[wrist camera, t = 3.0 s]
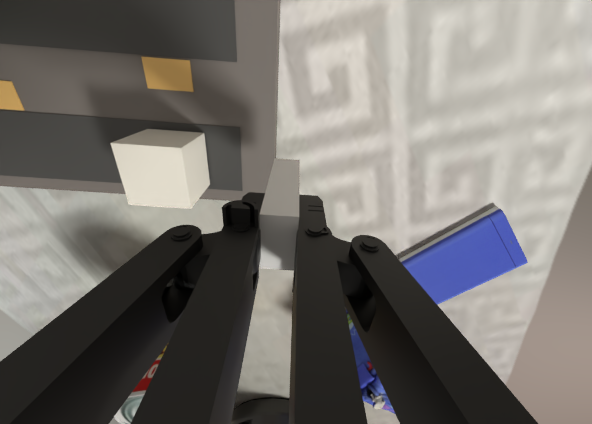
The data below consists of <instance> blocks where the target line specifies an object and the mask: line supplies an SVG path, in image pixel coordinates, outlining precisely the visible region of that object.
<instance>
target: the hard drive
mask: <svg viewBox="0 0 592 424" xmlns="http://www.w3.org/2000/svg"><path fill="white" fill-rule="evenodd" d="M399 261H400V262H401V263H402V264H403V265H404V267H405V268H406V269H407V270H408V271H409V272H410V274H411V275H412V276H413V277H414V278H415V279H416V281H417V282H418V283H419V284H420V285H421V287H422V288H423V289H424V290H425V291H426V292H427V294H428V295H429V296H430V297H431V298H432V299H433V301H434V302H435V303H436V304H440V303H442V302H444V301H446V300H448V299H450V298H452V297H454V296H457V295H459V294H461V293H463V292H465V291H467V290H470V289H472V288H474V287H476V286H478V285H481V284H483V283H485V282H487V281H489V280H491V279H494V278H496V277H498V276H500V275H502V274H504V273H506V272H508V271H511V270H513V269H515V268H517V267H519V266H521V265H524V264H526V263H527V259H526V257H525V255H524V253H523V251H522V249H521V247H520V245H519V243H518V241H517V239H516V237H515V235H514V233H513V231H512V228H511V226H510V224H509V222H508V220H507V218H506V216H505V214H504V213H503V211H502V210H501V209H499V208H498V207H497V206H495V207H493V208H492V209H490V210H488V211H486V212H484V213H482V214H480V215H479V216H477V217H475V218H473V219H471V220H469V221H468V222H466V223H464V224H462V225H460V226H458V227H457V228H455V229H453V230H451V231H449V232H447V233H446V234H444V235H442V236H440V237H438V238H436V239H435V240H433V241H431V242H429V243H427V244H425V245H424V246H422V247H420V248H418V249H416V250H414V251H413V252H411V253H409V254H407V255H405V256H403V257H402V258H400V259H399Z"/></svg>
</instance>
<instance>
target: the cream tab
mask: <svg viewBox="0 0 592 424" xmlns="http://www.w3.org/2000/svg"><path fill="white" fill-rule="evenodd" d="M110 144H111V147H112V150H113V153H114V157H115V160H116V163H117V167H118V170H119V173H120V177H121V180H122V183H123V187H124V190H125V193H126V196H127V200H128V203H129V205H139V206H155V207H171V208H187V209H191V208H192V207H193V206H194V204H195V203H196V202H197V201H198V199H199V198H200V197H201V195H202V194H203V193H204V192H205V190H206V189H207V188H208V186H209V185H210V179H209V171H208V162H207V153H206V144H205V135H204V133H200V132H185V131H171V130H157V129H146V130H143V131H140V132H138V133H135V134H133V135H130V136H127V137H125V138H122V139H120V140H117V141H114V142H112V143H110Z"/></svg>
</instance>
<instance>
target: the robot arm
mask: <svg viewBox="0 0 592 424" xmlns="http://www.w3.org/2000/svg"><path fill="white" fill-rule="evenodd" d="M222 213H223V223H224V226H223V229H222V231H219V232H215V233H209V234H201V230H200V229H199V228H198V227H196V226H193V225H180V226H176V227H173V228H171V229H169V230H167V231H166V232H165V233H163V234H162V235H161V236H159V237H158V238H157V239H156V240H154V241H153V242H152V243H151V244H149V245H148V246H147V247H145V248H144V249H143V250H142V251H140V252H139V253H138V254H137V255H135V256H134V257H133V258H132V259H130V260H129V261H128V262H126V263H125V264H124V265H123V266H121V267H120V268H119V269H118V270H116V271H115V272H114V273H112V274H111V275H110V276H109V277H107V278H106V279H105V280H104V281H102V282H101V283H100V284H98V285H97V286H96V287H95V288H93V289H92V290H91V291H90V292H88V293H87V294H86V295H85V296H83V297H82V298H81V299H79V300H78V301H77V302H76V303H74V304H73V305H72V306H71V307H69V308H68V309H67V310H65V311H64V312H63V313H62V314H60V315H59V316H58V317H57V318H55V319H54V320H53V321H51V322H50V323H49V324H48V325H46V326H45V327H44V328H43V329H41V330H40V331H39V332H38V333H36V334H35V335H34V336H32V337H31V338H30V339H29V340H27V341H26V342H25V343H24V344H22V345H21V346H20V347H18V348H17V349H16V350H15V351H13V352H12V353H11V354H10V355H8V356H7V357H6V358H4V359H3V360H2V361H1V362H0V424H109V423H110V421H111V420H112V418H113V417H114V416H115V415H116V413H117V412H118V410H119V409H120V408H121V406H122V405H123V404H124V402H125V401H126V400H127V398H128V397H129V396H130V394H131V393H132V391H133V390H134V389H135V387H136V386H137V385H138V383H139V382H140V381H141V379H142V378H143V377H144V375H145V374H146V373H147V371H148V370H149V368H150V367H151V366H152V364H153V363H154V362H155V360H156V359H157V358H158V356H159V355H160V354H161V352H162V351H163V349H164V348H165V347H166V345H167V344H168V345H167V347H166V350H165V352H164V354H163V356H162V358H161V360H160V362H159V364H158V367H157V369H156V371H155V373H154V375H153V377H152V379H151V381H150V384H149V386H148V388H147V390H146V392H145V394H144V396H143V398H142V401H141V403H140V405H139V407H138V409H137V411H136V413H135V415H134V417H133V420H132V422H131V424H367V419H366V413H365V408H364V403H363V397H362V392H361V387H360V381H359V376H358V371H357V365H356V360H355V355H354V350H353V344H352V339H351V334H350V328H349V323H348V318H347V312H346V309H347V311H348V314H349V316H350V318H351V320H352V322H353V324H354V326H355V329H356V331H357V333H358V335H359V337H360V339H361V341H362V343H363V346H364V348H365V350H366V352H367V354H368V356H369V358H370V360H371V363H372V365H373V367H374V369H375V371H376V373H377V375H378V377H379V380H380V382H381V384H382V386H383V388H384V390H385V392H386V395H387V397H388V399H389V401H390V403H391V405H392V407H393V409H394V412H395V414H396V416H397V418H398V420H399V422H400V424H538V423H537V422H536V421H535V419H534V418H533V417H532V416H531V415H530V414H529V412H528V411H527V410H526V409H525V408H524V406H523V405H522V404H521V403H520V402H519V401H518V399H517V398H516V397H515V396H514V395H513V394H512V392H511V391H510V390H509V389H508V388H507V386H506V385H505V384H504V383H503V382H502V381H501V379H500V378H499V377H498V376H497V375H496V374H495V372H494V371H493V370H492V369H491V368H490V366H489V365H488V364H487V363H486V362H485V361H484V359H483V358H482V357H481V356H480V355H479V354H478V352H477V351H476V350H475V349H474V348H473V346H472V345H471V344H470V343H469V342H468V341H467V339H466V338H465V337H464V336H463V335H462V334H461V332H460V331H459V330H458V329H457V328H456V326H455V325H454V324H453V323H452V322H451V321H450V319H449V318H448V317H447V316H446V315H445V314H444V312H443V311H442V310H441V309H440V308H439V306H438V305H437V304H436V303H435V302H434V301H433V299H432V298H431V297H430V296H429V295H428V294H427V292H426V291H425V290H424V289H423V288H422V287H421V285H420V284H419V283H418V282H417V281H416V279H415V278H414V277H413V276H412V275H411V274H410V272H409V271H408V270H407V269H406V268H405V267H404V265H403V264H402V263H401V262H400V261H399V259H398V258H397V257H396V256H395V255H394V254H393V252H392V251H391V250H390V249H389V248H388V247H387V245H386V244H385V243H384V242H382V241H381V240H380V239H377V238H375V237H373V236H368V235H360V236H356V237H354V238H353V239H352V242H347V241H343V240H340V239H338V238H336V237H334V236H333V235H332V233H331V231H330V229H329V228H328V227H327V225H326V219H325V213H324V207H323V202H322V200H321V199H320V198H319V197H318V196H311V195H299V160H290V159H274V163H273V166H272V170H271V174H270V177H269V181H268V185H267V188H266V192H265V193H255V192H248V193H247V194H246V195H244V196H243V197H242V200H236V201H231V202H228V203H226V204H225V205H224V206H223V207H222ZM259 264H260V268H262V269H279V270H294V278H293V290H292V292H293V307H292V338H291V368H290V399H289V400H285V399H272V398H270V399H258V400H253V401H249V402H246V403H243V404H241V405H240V406H238V407H237V408H236V409H235V410H234V404H235V399H236V394H237V389H238V383H239V378H240V373H241V368H242V362H243V357H244V352H245V347H246V341H247V336H248V331H249V326H250V320H251V315H252V310H253V305H254V299H255V294H256V289H257V283H258V278H259ZM233 410H234V411H233Z"/></svg>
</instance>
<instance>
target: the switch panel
mask: <svg viewBox="0 0 592 424" xmlns="http://www.w3.org/2000/svg"><path fill="white" fill-rule="evenodd" d="M279 29H280V0H0V186H10V187H25V188H41V189H57V190H72V191H88V192H103V193H119V194H126V193H125V190H124V187H123V183H122V180H121V177H120V173H119V170H118V167H117V163H116V160H115V157H114V153H113V150H112V147H111V144H110V143H112V142H114V141H117V140H120V139H122V138H125V137H127V136H130V135H133V134H135V133H138V132H140V131H143V130H146V129H157V130H171V131H185V132H200V133H204V135H205V144H206V153H207V162H208V171H209V179H210V185H209V186H208V188H207V189H206V190H205V192H204V193H203V194H202V195H201V197H200V198H199V199H213V200H229V201H236V200H242V197H243V196H244V195H246V194H247V193H248V192H255V193H265V192H266V188H267V185H268V181H269V177H270V174H271V170H272V166H273V163H274V159H276V135H277V100H278V64H279Z"/></svg>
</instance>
